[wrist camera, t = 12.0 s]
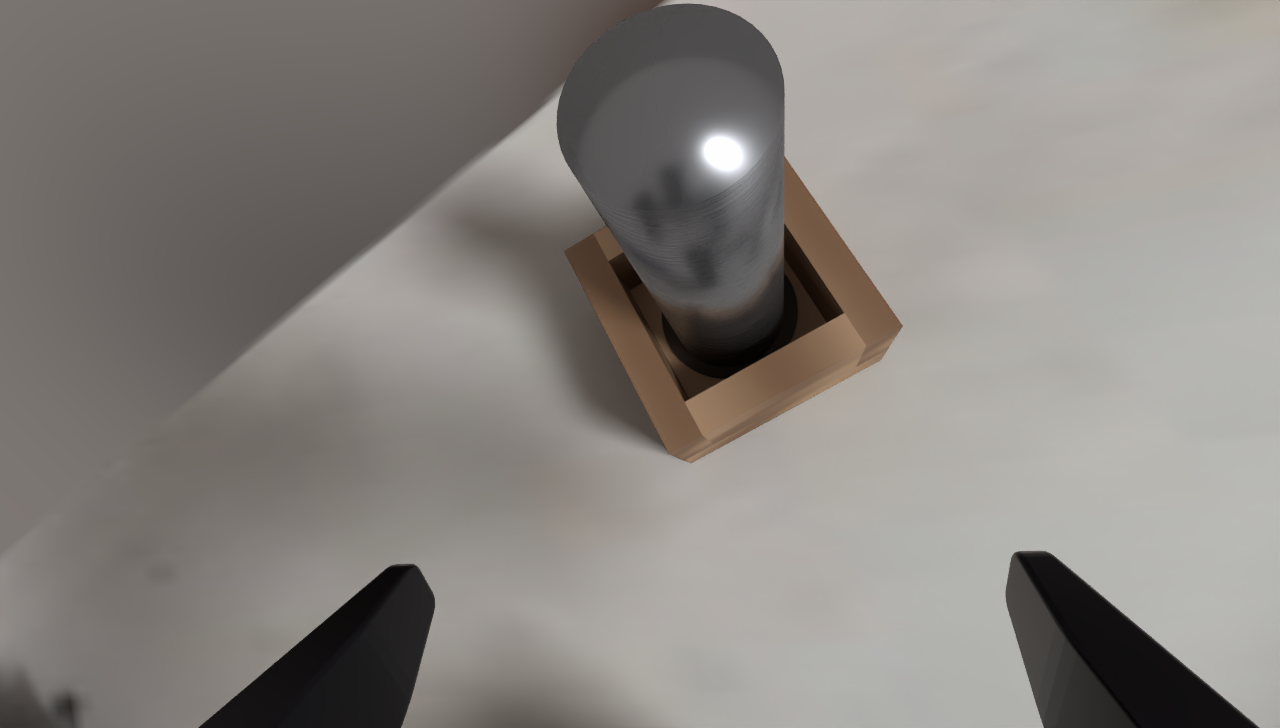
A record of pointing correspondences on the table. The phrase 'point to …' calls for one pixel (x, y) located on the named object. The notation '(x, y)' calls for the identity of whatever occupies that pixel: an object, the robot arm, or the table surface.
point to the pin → (688, 169)
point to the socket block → (775, 382)
